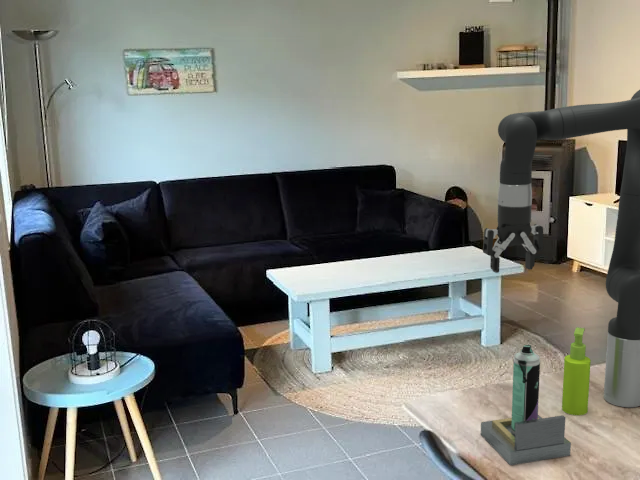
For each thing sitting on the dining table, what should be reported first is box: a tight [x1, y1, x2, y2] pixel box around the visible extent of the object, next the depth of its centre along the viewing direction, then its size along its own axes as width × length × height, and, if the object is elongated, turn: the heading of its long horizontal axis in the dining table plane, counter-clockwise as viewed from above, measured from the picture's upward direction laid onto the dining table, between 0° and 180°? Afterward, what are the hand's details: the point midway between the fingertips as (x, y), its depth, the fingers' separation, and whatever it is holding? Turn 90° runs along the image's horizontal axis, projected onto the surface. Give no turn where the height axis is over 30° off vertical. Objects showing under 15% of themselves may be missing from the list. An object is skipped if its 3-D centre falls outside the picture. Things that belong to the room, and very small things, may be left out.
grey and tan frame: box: [480, 414, 572, 466], centre depth 165 cm, size 14×14×9 cm
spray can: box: [511, 344, 541, 434], centre depth 164 cm, size 6×6×20 cm
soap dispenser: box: [561, 326, 592, 416], centre depth 180 cm, size 6×7×20 cm
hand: (512, 270), depth 178 cm, fingers open, 8 cm apart
